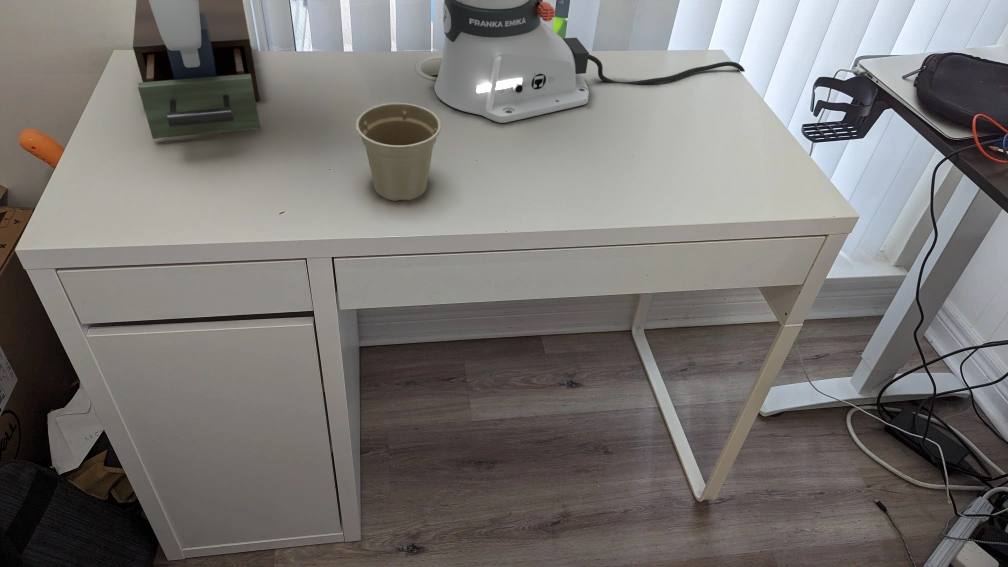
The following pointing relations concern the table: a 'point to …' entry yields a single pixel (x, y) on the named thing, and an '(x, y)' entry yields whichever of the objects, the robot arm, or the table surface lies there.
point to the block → (205, 57)
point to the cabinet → (224, 27)
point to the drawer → (198, 97)
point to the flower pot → (399, 147)
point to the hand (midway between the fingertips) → (192, 53)
